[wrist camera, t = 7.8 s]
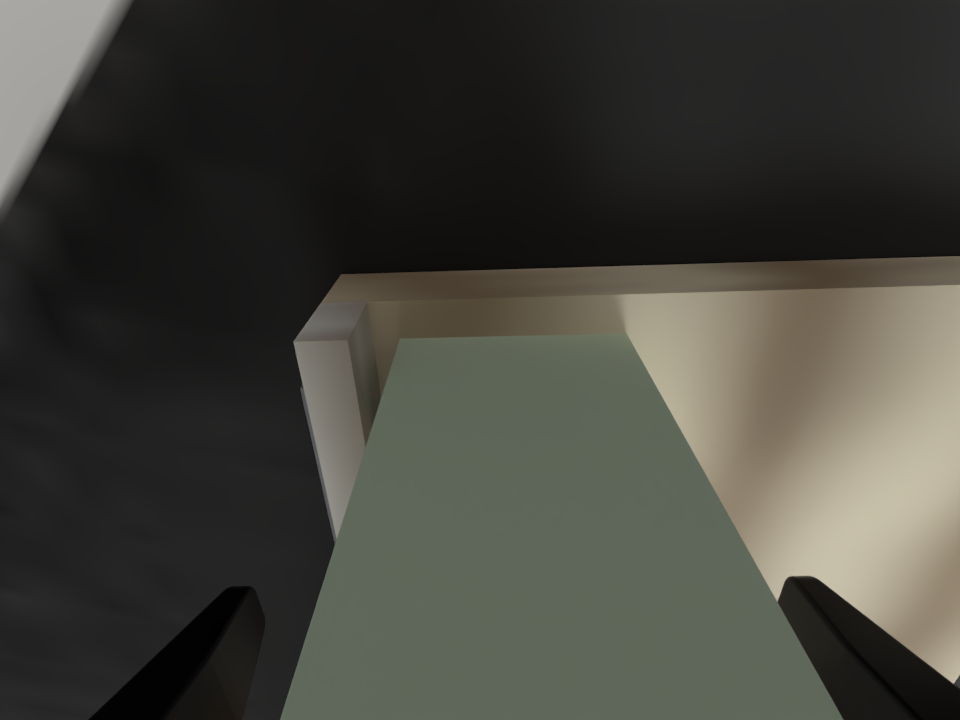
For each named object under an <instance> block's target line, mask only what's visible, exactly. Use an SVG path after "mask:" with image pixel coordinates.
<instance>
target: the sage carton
mask: <svg viewBox="0 0 960 720" xmlns="http://www.w3.org/2000/svg"><path fill="white" fill-rule="evenodd" d="M280 720H843V718H842V716H841V714H840V713H839V711H838V709H837V707H836V706H835V704H834V702H833V700H832V698H831V697H830V695H829V693H828V691H827V689H826V688H825V686H824V684H823V682H822V681H821V679H820V677H819V675H818V673H817V672H816V670H815V668H814V666H813V665H812V663H811V661H810V659H809V657H808V656H807V654H806V652H805V650H804V649H803V647H802V645H801V643H800V641H799V640H798V638H797V636H796V634H795V632H794V631H793V629H792V627H791V625H790V624H789V622H788V620H787V618H786V616H785V615H784V613H783V611H782V609H781V608H780V606H779V604H778V602H777V600H776V599H775V597H774V595H773V593H772V592H771V590H770V588H769V586H768V584H767V583H766V581H765V579H764V577H763V576H762V574H761V572H760V570H759V568H758V567H757V565H756V563H755V561H754V559H753V558H752V556H751V554H750V552H749V551H748V549H747V547H746V545H745V543H744V542H743V540H742V538H741V536H740V535H739V533H738V531H737V529H736V527H735V526H734V524H733V522H732V520H731V519H730V517H729V515H728V513H727V511H726V510H725V508H724V506H723V504H722V502H721V501H720V499H719V497H718V495H717V494H716V492H715V490H714V488H713V486H712V485H711V483H710V481H709V479H708V478H707V476H706V474H705V472H704V470H703V469H702V467H701V465H700V463H699V462H698V460H697V458H696V456H695V454H694V453H693V451H692V449H691V447H690V445H689V444H688V442H687V440H686V438H685V437H684V435H683V433H682V431H681V429H680V428H679V426H678V424H677V422H676V421H675V419H674V417H673V415H672V413H671V412H670V410H669V408H668V406H667V405H666V403H665V401H664V399H663V397H662V396H661V394H660V392H659V390H658V389H657V387H656V385H655V383H654V381H653V380H652V378H651V376H650V374H649V372H648V371H647V369H646V367H645V365H644V364H643V362H642V360H641V358H640V356H639V355H638V353H637V351H636V349H635V348H634V346H633V344H632V342H631V340H630V339H629V337H628V335H627V333H623V334H579V335H534V336H490V337H445V338H401V339H399V343H398V346H397V349H396V352H395V355H394V359H393V362H392V365H391V368H390V371H389V374H388V378H387V381H386V384H385V387H384V390H383V394H382V397H381V400H380V403H379V406H378V410H377V413H376V416H375V419H374V422H373V425H372V429H371V432H370V435H369V438H368V441H367V445H366V448H365V451H364V454H363V457H362V461H361V464H360V467H359V470H358V473H357V476H356V480H355V483H354V486H353V489H352V492H351V496H350V499H349V502H348V505H347V508H346V512H345V515H344V518H343V521H342V524H341V527H340V531H339V534H338V537H337V540H336V543H335V547H334V550H333V553H332V556H331V559H330V563H329V566H328V569H327V572H326V575H325V578H324V582H323V585H322V588H321V591H320V594H319V598H318V601H317V604H316V607H315V610H314V614H313V617H312V620H311V623H310V626H309V629H308V633H307V636H306V639H305V642H304V645H303V649H302V652H301V655H300V658H299V661H298V665H297V668H296V671H295V674H294V677H293V680H292V684H291V687H290V690H289V693H288V696H287V700H286V703H285V706H284V709H283V712H282V716H281V719H280Z"/></svg>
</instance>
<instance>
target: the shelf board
mask: <svg viewBox="0 0 960 720" xmlns="http://www.w3.org/2000/svg"><path fill="white" fill-rule="evenodd" d="M623 333H627V335H628V337H629V339H630V340H631V342H632V344H633V346H634V348H635V349H636V351H637V353H638V355H639V356H640V358H641V360H642V362H643V364H644V365H645V367H646V369H647V371H648V372H649V374H650V376H651V378H652V380H653V381H654V383H655V385H656V387H657V389H658V390H659V392H660V394H661V396H662V397H663V399H664V401H665V403H666V405H667V406H668V408H669V410H670V412H671V413H672V415H673V417H674V419H675V421H676V422H677V424H678V426H679V428H680V429H681V431H682V433H683V435H684V437H685V438H686V440H687V442H688V444H689V445H690V447H691V449H692V451H693V453H694V454H695V456H696V458H697V460H698V462H699V463H700V465H701V467H702V469H703V470H704V472H705V474H706V476H707V478H708V479H709V481H710V483H711V485H712V486H713V488H714V490H715V492H716V494H717V495H718V497H719V499H720V501H721V502H722V504H723V506H724V508H725V510H726V511H727V513H728V515H729V517H730V519H731V520H732V522H733V524H734V526H735V527H736V529H737V531H738V533H739V535H740V536H741V538H742V540H743V542H744V543H745V545H746V547H747V549H748V551H749V552H750V554H751V556H752V558H753V559H754V561H755V563H756V565H757V567H758V568H759V570H760V572H761V574H762V576H763V577H764V579H765V581H766V583H767V584H768V586H769V588H770V590H771V592H772V593H773V595H774V597H775V599H776V600H777V602H778V599H779V596H780V593H781V590H782V588H783V585H784V582H785V580H786V579H787V578H788V577H790V576H813V577H815V578H817V579H819V580H820V581H822V582H823V583H824V584H825V585H827V586H828V587H829V588H831V589H832V590H833V591H834V592H836V593H837V594H838V595H840V596H841V597H842V598H843V599H845V600H846V601H847V602H849V603H850V604H851V605H852V606H854V607H855V608H856V609H858V610H859V611H860V612H862V613H863V614H864V615H865V616H867V617H868V618H869V619H871V620H872V621H873V622H874V623H876V624H877V625H878V626H880V627H881V628H882V629H883V630H885V631H886V632H887V633H889V634H890V635H891V636H893V637H894V638H895V639H896V640H898V641H899V642H900V643H902V644H903V645H904V646H905V647H907V648H908V649H909V650H911V651H912V652H913V653H914V654H916V655H917V656H918V657H920V658H921V659H922V660H923V661H925V662H926V663H927V664H929V665H930V666H931V667H933V668H934V669H935V670H936V671H938V672H939V673H940V674H942V675H943V676H944V677H945V678H947V679H948V680H949V681H951V682H952V683H953V684H954V682H955V681H956V679H957V678H958V676H959V675H960V256H944V257H910V258H876V259H843V260H809V261H775V262H741V263H707V264H673V265H640V266H606V267H572V268H538V269H504V270H470V271H437V272H403V273H369V274H341V275H340V277H339V278H338V280H337V281H336V282H335V284H334V285H333V287H332V288H331V289H330V291H329V292H328V294H327V295H326V296H325V298H324V299H323V301H322V302H321V304H320V305H319V306H318V308H317V309H316V311H315V312H314V313H313V315H312V316H311V318H310V319H309V320H308V322H307V323H306V325H305V326H304V327H303V329H302V330H301V332H300V333H299V334H298V336H297V337H296V339H295V340H294V342H293V343H294V347H295V352H296V356H297V361H298V365H299V370H300V374H301V379H302V386H301V387H300V390H301V395H302V399H303V404H304V408H305V413H306V417H307V422H308V426H309V431H310V435H311V440H312V444H313V448H314V453H315V457H316V462H317V466H318V471H319V475H320V480H321V484H322V489H323V493H324V498H325V502H326V507H327V511H328V516H329V520H330V525H331V529H332V534H333V538H334V543H336V540H337V537H338V534H339V531H340V527H341V524H342V521H343V518H344V515H345V512H346V508H347V505H348V502H349V499H350V496H351V492H352V489H353V486H354V483H355V480H356V476H357V473H358V470H359V467H360V464H361V461H362V457H363V454H364V451H365V448H366V445H367V441H368V438H369V435H370V432H371V429H372V425H373V422H374V419H375V416H376V413H377V410H378V406H379V403H380V400H381V397H382V394H383V390H384V387H385V384H386V381H387V378H388V374H389V371H390V368H391V365H392V362H393V359H394V355H395V352H396V349H397V346H398V343H399V339H401V338H445V337H490V336H534V335H579V334H623Z"/></svg>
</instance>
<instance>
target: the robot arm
mask: <svg viewBox="0 0 960 720" xmlns="http://www.w3.org/2000/svg"><path fill="white" fill-rule="evenodd" d="M778 604H779V606H780V608H781V609H782V611H783V613H784V615H785V616H786V618H787V620H788V622H789V624H790V625H791V627H792V629H793V631H794V632H795V634H796V636H797V638H798V640H799V641H800V643H801V645H802V647H803V649H804V650H805V652H806V654H807V656H808V657H809V659H810V661H811V663H812V665H813V666H814V668H815V670H816V672H817V673H818V675H819V677H820V679H821V681H822V682H823V684H824V686H825V688H826V689H827V691H828V693H829V695H830V697H831V698H832V700H833V702H834V704H835V706H836V707H837V709H838V711H839V713H840V714H841V716H842V718H843V720H960V688H958V687H957V686H956V685H954V684H953V683H952V682H951V681H949V680H948V679H947V678H945V677H944V676H943V675H942V674H940V673H939V672H938V671H936V670H935V669H934V668H933V667H931V666H930V665H929V664H927V663H926V662H925V661H923V660H922V659H921V658H920V657H918V656H917V655H916V654H914V653H913V652H912V651H911V650H909V649H908V648H907V647H905V646H904V645H903V644H902V643H900V642H899V641H898V640H896V639H895V638H894V637H893V636H891V635H890V634H889V633H887V632H886V631H885V630H883V629H882V628H881V627H880V626H878V625H877V624H876V623H874V622H873V621H872V620H871V619H869V618H868V617H867V616H865V615H864V614H863V613H862V612H860V611H859V610H858V609H856V608H855V607H854V606H852V605H851V604H850V603H849V602H847V601H846V600H845V599H843V598H842V597H841V596H840V595H838V594H837V593H836V592H834V591H833V590H832V589H831V588H829V587H828V586H827V585H825V584H824V583H823V582H822V581H820V580H819V579H817V578H815V577H813V576H790V577H788V578H787V579H786V580H785V582H784V585H783V588H782V590H781V593H780V596H779V599H778ZM264 629H265V617H264V614H263V611H262V608H261V605H260V602H259V599H258V596H257V593H256V591H255V589H254V588H253V587H251V586H233V587H229V588H227V589H226V590H224V591H223V592H222V593H221V594H220V595H219V596H218V597H217V598H216V599H215V600H214V601H213V602H211V603H210V604H209V605H208V606H207V607H206V608H205V609H204V610H203V611H202V612H201V613H200V614H199V615H198V616H197V617H196V618H195V619H194V620H193V621H192V622H190V623H189V624H188V625H187V626H186V627H185V628H184V629H183V630H182V631H181V632H180V633H179V634H178V635H177V636H176V637H175V638H174V639H173V640H172V641H171V642H169V643H168V644H167V645H166V646H165V647H164V648H163V649H162V650H161V651H160V652H159V653H158V654H157V655H156V656H155V657H154V658H153V659H152V660H151V661H149V662H148V663H147V664H146V665H145V666H144V667H143V668H142V669H141V670H140V671H139V672H138V673H137V674H136V675H135V676H134V677H133V678H132V679H131V680H130V681H128V682H127V683H126V684H125V685H124V686H123V687H122V688H121V689H120V690H119V691H118V692H117V693H116V694H115V695H114V696H113V697H112V698H111V699H110V700H109V701H107V702H106V703H105V704H104V705H103V706H102V707H101V708H100V709H99V710H98V711H97V712H96V713H95V714H94V715H93V716H92V717H91V718H90V719H89V720H242V719H243V715H244V711H245V707H246V703H247V699H248V695H249V691H250V687H251V683H252V679H253V675H254V671H255V667H256V662H257V658H258V654H259V650H260V646H261V642H262V638H263V634H264Z"/></svg>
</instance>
